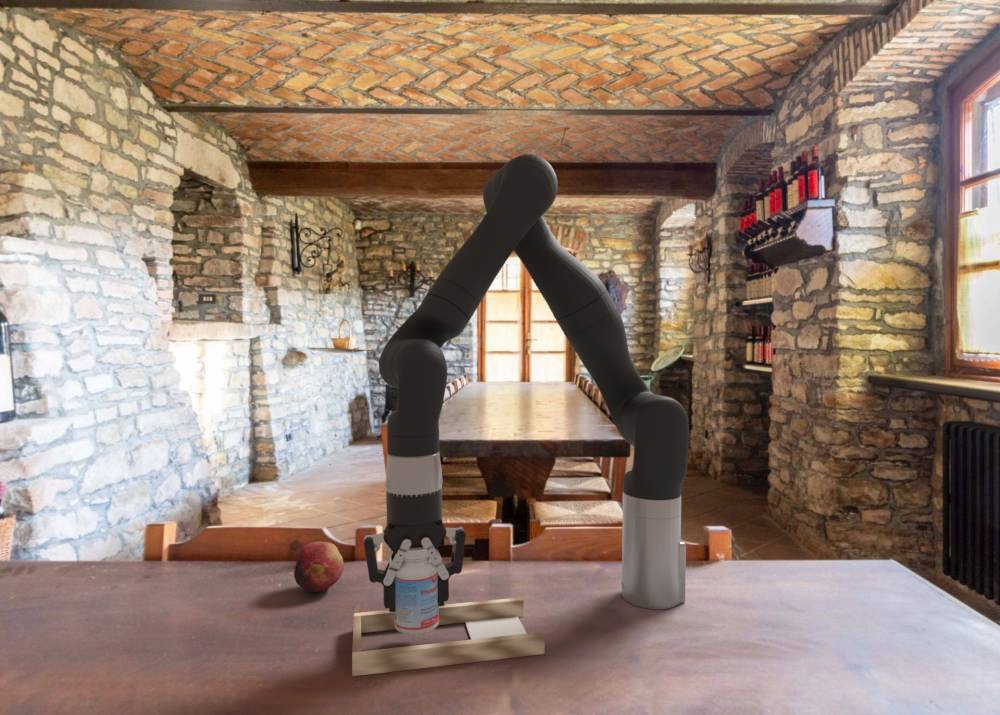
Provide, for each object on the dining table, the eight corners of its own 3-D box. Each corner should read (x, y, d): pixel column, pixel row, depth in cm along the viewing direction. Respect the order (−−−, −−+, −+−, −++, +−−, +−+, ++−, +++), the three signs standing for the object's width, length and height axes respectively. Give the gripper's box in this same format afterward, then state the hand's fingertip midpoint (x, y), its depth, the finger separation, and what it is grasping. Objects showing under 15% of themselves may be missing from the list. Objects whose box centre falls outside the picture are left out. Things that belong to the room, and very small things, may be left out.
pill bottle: (431, 638, 78) (429, 554, 77) (387, 634, 79) (385, 551, 79) (444, 617, 84) (443, 538, 83) (403, 613, 85) (402, 536, 85)
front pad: (517, 618, 89) (517, 616, 89) (534, 648, 81) (534, 646, 81) (465, 623, 88) (465, 621, 88) (476, 655, 79) (476, 653, 79)
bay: (521, 613, 91) (521, 597, 91) (544, 653, 79) (544, 635, 79) (354, 630, 86) (354, 613, 86) (352, 676, 74) (352, 656, 74)
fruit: (349, 593, 98) (349, 545, 98) (302, 605, 94) (302, 555, 93) (334, 578, 104) (333, 533, 104) (289, 588, 100) (288, 541, 100)
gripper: (462, 475, 86) (463, 589, 87) (360, 482, 83) (362, 600, 83) (471, 488, 79) (472, 613, 79) (359, 496, 75) (362, 626, 76)
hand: (416, 606), depth 81 cm, fingers closed on pill bottle, 6 cm apart
